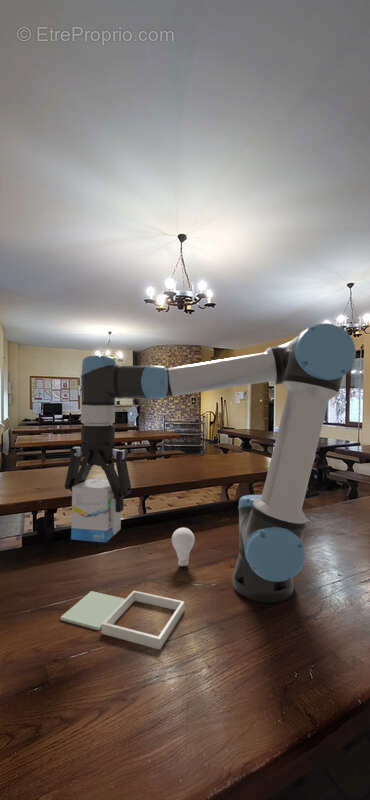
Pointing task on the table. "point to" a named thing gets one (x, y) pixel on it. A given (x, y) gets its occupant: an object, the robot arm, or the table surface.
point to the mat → (92, 610)
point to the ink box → (92, 511)
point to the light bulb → (183, 544)
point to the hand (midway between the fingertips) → (97, 523)
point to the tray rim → (140, 636)
